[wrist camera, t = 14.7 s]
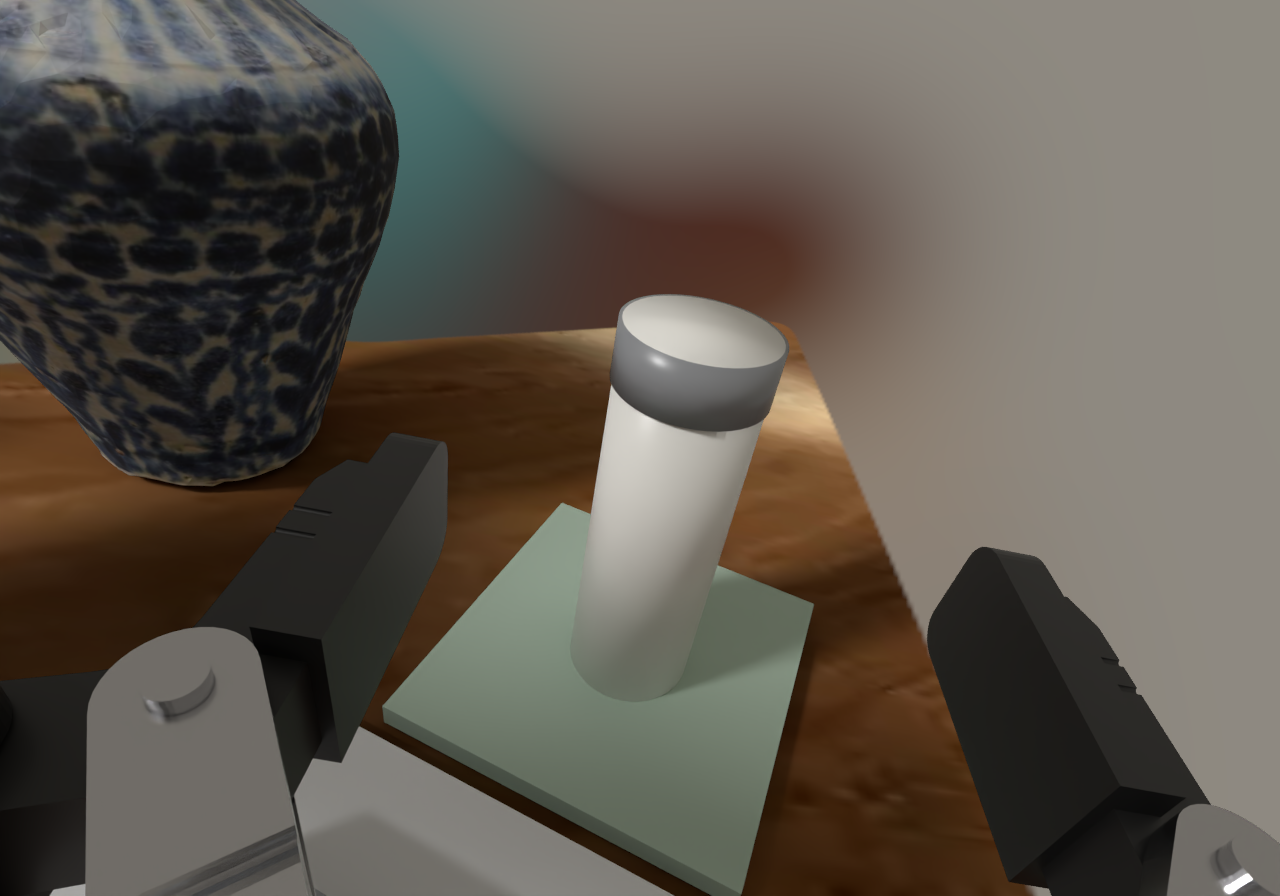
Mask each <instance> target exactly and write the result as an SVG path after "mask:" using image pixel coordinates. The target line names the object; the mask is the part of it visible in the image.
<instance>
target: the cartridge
mask: <svg viewBox="0 0 1280 896" xmlns="http://www.w3.org/2000/svg"><path fill="white" fill-rule="evenodd" d="M788 352H789V344H788V341H787V339H786V338H785V336H784V335H783V334H782V332H781V331H779V330H778V329H777V328H776V327H775V326H774V325H772V324H771V323H770V322H768V321H766V320H765V319H763V318H761V317H759V316H757V315H755V314H753V313H751V312H749V311H747V310H744V309H741V308H739V307H737V306H733V305H730V304H727V303H724V302H720V301H716V300H712V299H708V298H701V297H696V296H688V295H674V294H664V295H663V294H660V295H650V296H644V297H640V298H637V299H634V300H632V301H630V302H628V303H626V304H625V305H624V306H623V307H622V308H621V310H620V313H619V318H618V324H617V330H616V337H615V343H614V350H613V356H612V363H611V369H610V381H611V390H610V396H609V403H608V409H607V415H606V422H605V428H604V434H603V441H602V447H601V454H600V460H599V466H598V473H597V479H596V485H595V492H594V498H593V504H592V511H591V517H590V524H589V530H588V536H587V543H586V549H585V555H584V562H583V568H582V574H581V581H580V587H579V594H578V600H577V606H576V613H575V619H574V625H573V632H572V638H571V648H570V651H571V657H572V661H573V664H574V666H575V668H576V670H577V672H578V673H579V675H580V676H581V677H582V678H583V680H584V681H585V682H586V683H587V684H588V685H590V686H591V687H592V688H594V689H595V690H596V691H598V692H600V693H602V694H603V695H606V696H608V697H611V698H614V699H617V700H622V701H629V702H640V701H647V700H652V699H655V698H658V697H660V696H662V695H664V694H666V693H667V692H669V691H670V690H671V689H672V688H673V687H674V686H675V685H676V684H677V683H678V682H679V680H680V679H681V677H682V675H683V672H684V669H685V666H686V663H687V660H688V657H689V654H690V651H691V647H692V644H693V641H694V638H695V635H696V632H697V628H698V625H699V622H700V619H701V616H702V613H703V609H704V606H705V603H706V600H707V597H708V594H709V590H710V587H711V584H712V581H713V578H714V575H715V572H716V568H717V565H718V562H719V559H720V556H721V553H722V549H723V546H724V543H725V540H726V537H727V534H728V530H729V527H730V524H731V521H732V518H733V515H734V512H735V508H736V505H737V502H738V499H739V496H740V493H741V489H742V486H743V483H744V480H745V477H746V474H747V470H748V467H749V464H750V461H751V458H752V455H753V451H754V448H755V445H756V442H757V439H758V436H759V433H760V429H761V426H762V423H763V420H764V418H766V416H767V415H768V413H769V411H770V408H771V405H772V402H773V399H774V396H775V393H776V390H777V387H778V384H779V380H780V377H781V374H782V371H783V368H784V365H785V362H786V359H787V355H788Z"/></svg>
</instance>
